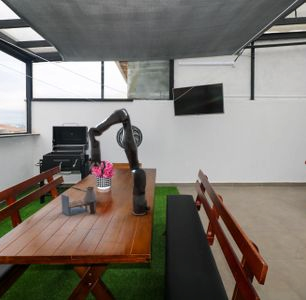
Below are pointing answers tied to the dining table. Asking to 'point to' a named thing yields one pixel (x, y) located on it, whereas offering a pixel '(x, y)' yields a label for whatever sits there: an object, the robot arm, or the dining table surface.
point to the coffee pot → (89, 194)
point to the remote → (92, 206)
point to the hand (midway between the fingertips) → (96, 174)
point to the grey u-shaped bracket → (72, 206)
